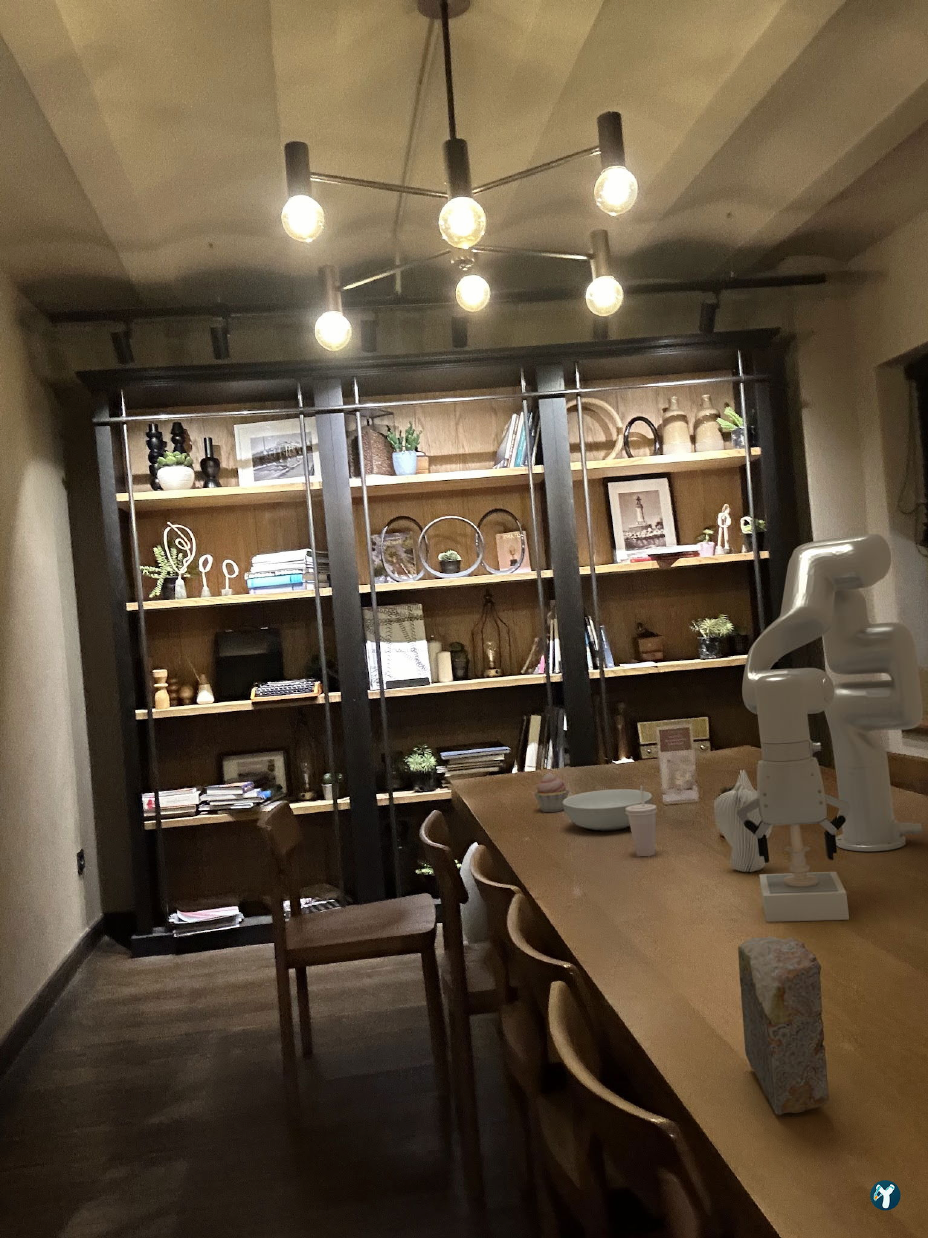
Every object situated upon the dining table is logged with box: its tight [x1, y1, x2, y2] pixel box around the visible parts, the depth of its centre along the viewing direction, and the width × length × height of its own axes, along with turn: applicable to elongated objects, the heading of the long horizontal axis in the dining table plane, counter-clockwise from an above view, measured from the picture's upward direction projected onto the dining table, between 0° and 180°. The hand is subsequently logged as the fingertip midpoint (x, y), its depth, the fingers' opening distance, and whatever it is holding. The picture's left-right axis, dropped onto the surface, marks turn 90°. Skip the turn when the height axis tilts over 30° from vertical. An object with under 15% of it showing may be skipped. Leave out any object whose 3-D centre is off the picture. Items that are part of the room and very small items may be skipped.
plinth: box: [759, 871, 850, 923], centre depth 153 cm, size 12×12×4 cm
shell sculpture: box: [713, 769, 774, 873], centre depth 178 cm, size 8×8×18 cm
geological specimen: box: [737, 936, 830, 1116], centre depth 97 cm, size 11×6×15 cm, turn 178°
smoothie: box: [626, 785, 658, 857], centre depth 197 cm, size 6×6×14 cm
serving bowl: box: [563, 788, 653, 832], centre depth 227 cm, size 21×21×7 cm
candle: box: [784, 824, 818, 887], centre depth 153 cm, size 5×5×10 cm
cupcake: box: [533, 771, 570, 813], centre depth 253 cm, size 9×9×10 cm
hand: (798, 859), depth 153 cm, fingers open, 9 cm apart
